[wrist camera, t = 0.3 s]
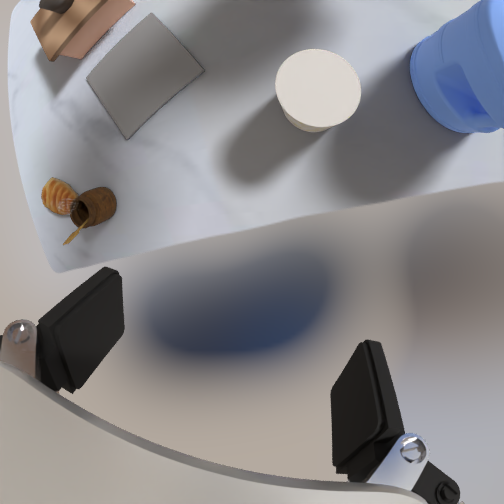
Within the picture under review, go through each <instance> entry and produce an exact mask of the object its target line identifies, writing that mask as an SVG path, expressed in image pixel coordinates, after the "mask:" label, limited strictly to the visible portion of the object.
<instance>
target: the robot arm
mask: <svg viewBox="0 0 504 504" xmlns="http://www.w3.org/2000/svg"><path fill="white" fill-rule="evenodd" d="M38 322H39V324H38V325H37V326H35V324H33V323H32V322H31V321H29V320H23V319H21V320H16V321H14V322H12V323H10V324H9V325H8V326H7V327H6V329H5V331H4V333H3V335H0V504H464V502H463V501H462V502H460V503H459V502H458V501H459V499H460V490H459V487H458V485H457V483H456V482H455V481H454V480H452V479H451V478H450V477H448V476H447V475H446V474H444V473H443V472H442V471H441V470H439V469H438V468H437V467H435V466H434V465H433V464H432V463H430V462H429V461H428V458H429V455H430V452H429V451H430V450H429V447H428V444H427V443H426V441H425V440H424V439H423V438H422V437H421V436H419V435H417V434H413V433H408V434H407V433H406V434H405V431H404V426H403V422H402V418H401V413H400V409H399V405H398V401H397V397H396V393H395V390H394V386H393V382H392V379H391V375H390V372H389V368H388V365H387V362H386V358H385V355H384V352H383V349H382V346H381V343H380V342H377V341H371V340H365V341H364V342H363V343H362V342H361V343H359V345H358V346H357V348H356V350H355V351H354V353H353V355H352V356H351V358H350V360H349V362H348V363H347V365H346V366H345V368H344V370H343V371H342V373H341V375H340V376H339V378H338V379H337V381H336V382H335V384H334V386H333V387H332V390H331V417H332V457H333V458H332V460H333V462H332V463H333V466H336V473H337V474H348V481H347V482H333V481H319V480H307V479H298V478H289V477H282V476H275V475H269V474H263V473H257V472H252V471H247V470H242V469H238V468H233V467H229V466H225V465H221V464H217V463H214V462H210V461H206V460H202V459H200V458H196V457H193V456H190V455H187V454H184V453H181V452H178V451H175V450H172V449H169V448H167V447H164V446H161V445H159V444H156V443H153V442H151V441H149V440H146V439H144V438H141V437H139V436H137V435H134V434H132V433H130V432H128V431H126V430H123V429H121V428H119V427H117V426H115V425H113V424H111V423H109V422H107V421H105V420H103V419H101V418H99V417H97V416H95V415H94V414H92V413H90V412H88V411H86V410H85V409H83V408H81V407H79V406H78V405H76V404H74V403H73V402H71V401H69V400H67V399H66V398H64V397H63V396H61V395H59V390H60V389H61V387H62V388H64V389H65V390H67V391H69V392H70V393H72V394H73V392H74V391H75V390H76V389H80V388H81V387H82V386H83V385H84V383H85V382H86V381H87V379H88V378H89V377H90V375H91V374H92V373H93V371H94V370H95V369H96V368H97V366H98V365H99V364H100V362H101V361H102V360H103V359H104V357H105V356H106V355H107V354H108V352H109V351H110V350H111V349H112V347H113V346H114V345H115V344H116V342H117V341H118V340H119V339H120V337H121V336H122V335H123V333H124V313H123V297H122V277H121V276H120V275H119V272H118V271H116V270H114V269H111V268H108V267H103V268H102V269H101V270H99V271H98V272H97V273H96V274H94V275H93V276H92V277H90V278H89V279H88V280H87V281H85V282H84V283H83V284H81V285H80V286H79V287H78V288H76V289H75V290H74V291H73V292H71V293H70V294H69V295H68V296H66V297H65V298H64V299H63V300H62V301H61V302H60V303H58V304H57V305H56V306H54V307H53V308H52V309H51V310H50V311H49V312H47V313H46V314H45V315H44V316H43V317H42V318H41V319H39V321H38Z"/></svg>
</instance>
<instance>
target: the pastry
mask: <svg viewBox="0 0 504 504" xmlns="http://www.w3.org/2000/svg"><path fill="white" fill-rule="evenodd" d="M76 197H78V194H77V193H76V192H74V190H73V189H72V188H71V186H70V185H69V184H66V183H65V182H63V181H61V180H59V179H56V178H53V177H52V178H50V180H49V181H48V182H47V183H46V185H45V186H44V187H43V190H42V196H41V198H42V200H43V204H44V205H45V207H47V208H49V209H50V210H51V211H52V212H54V213H57V214H61V215H66V214H69V213H70V205H68V204H71V202H72V201H73V199H75V198H76ZM68 198H69V199H71V200H68ZM62 199H63V200H62ZM59 202H60V203H59ZM62 202H65V203H62ZM60 204H61V205H60ZM63 205H65V206H63ZM58 206H61V207H60V208H62V209H63V210H62V209H58ZM68 207H69V208H68ZM66 210H69V211H66ZM67 212H69V213H67ZM63 213H64V214H63Z"/></svg>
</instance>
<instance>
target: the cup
mask: <svg viewBox="0 0 504 504" xmlns="http://www.w3.org/2000/svg"><path fill="white" fill-rule="evenodd" d="M275 88H276V94H277V97H278V100H279V102H280V104H281V107H282V109H283V112H284V114H285V116H286V118H287V119H288V120H289V121H290V123H292V124H293V125H294V126H295V127H297V128H299V129H301V130H303V131H307V132H321V131H324V130H327V129H329V128H331V127H333V126H335V125H337V124H340V123H342V122H344V121H345V120H347V119H348V118H349V117H350V116H351V115H352V114H353V113H354V112H355V110H356V109H357V107H358V105H359V102H360V98H361V85H360V81H359V78H358V76H357V74H356V72H355V70H354V69H353V67H352V66H351V65H350V64H349V63H348V62H347V61H346V60H345V59H343V58H342V57H340V56H339V55H337V54H335V53H333V52H330V51H326V50H322V49H307V50H303V51H300V52H297V53H295V54H293V55H291V56H290V57H289V58H287V59H286V60H285V61H284V62H283V64H282V65H281V66H280V68H279V70H278V72H277V75H276V81H275Z"/></svg>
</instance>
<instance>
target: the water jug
mask: <svg viewBox="0 0 504 504" xmlns="http://www.w3.org/2000/svg"><path fill="white" fill-rule="evenodd" d="M410 75H411V80H412V84H413V87H414V89H415V92H416V94H417V96H418V98H419V100H420V102H421V103H422V105H423V106H424V108H425V109H426V110H427V112H428V113H429V114H430V115H431V116H432V117H433V118H434V119H435V120H436V121H437V122H439V123H440V124H441V125H443V126H444V127H446V128H448V129H450V130H453V131H456V132H460V133H475V132H481V133H490V132H494V131H496V130H498V129H499V128H503V129H504V0H481V1H479V2H477V3H476V4H474V5H473V6H472V7H471V8H470V9H469V10H468V11H466V12H464V13H463V14H461V15H460V16H458V17H457V18H455V19H452V20H450V21H449V22H447V23H446V24H444V25H443V26H442V27H441V28H440V29H439V30H438V31H436V32H435V33H434V34H432V35H431V36H428V37H426V38H425V39H423V40H422V41H421V42H419V43H418V44H417V46H416V47H415V48H414V50H413V53H412V55H411V60H410Z"/></svg>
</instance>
